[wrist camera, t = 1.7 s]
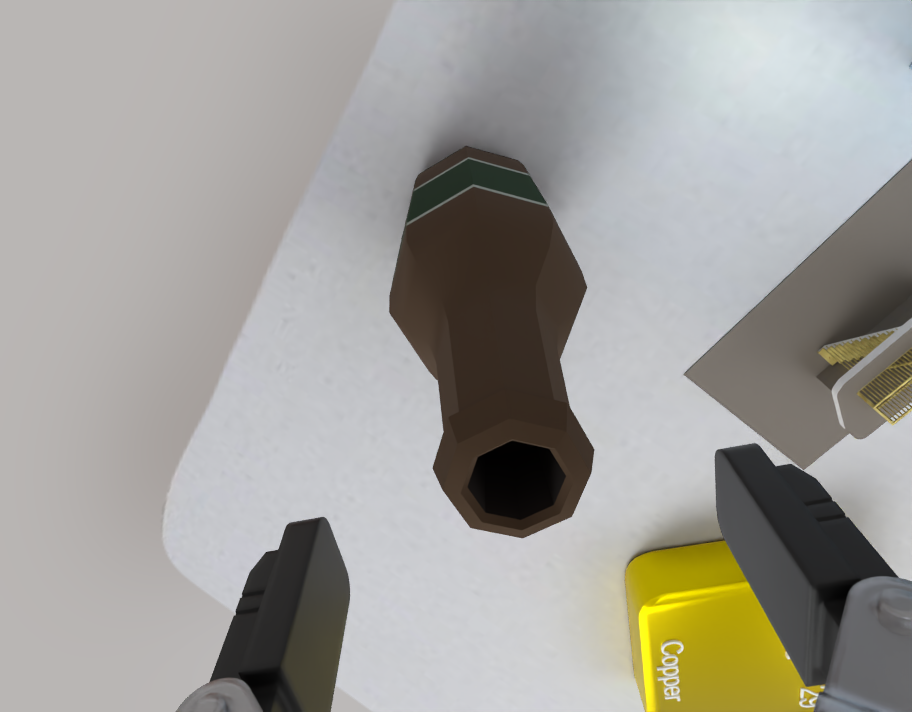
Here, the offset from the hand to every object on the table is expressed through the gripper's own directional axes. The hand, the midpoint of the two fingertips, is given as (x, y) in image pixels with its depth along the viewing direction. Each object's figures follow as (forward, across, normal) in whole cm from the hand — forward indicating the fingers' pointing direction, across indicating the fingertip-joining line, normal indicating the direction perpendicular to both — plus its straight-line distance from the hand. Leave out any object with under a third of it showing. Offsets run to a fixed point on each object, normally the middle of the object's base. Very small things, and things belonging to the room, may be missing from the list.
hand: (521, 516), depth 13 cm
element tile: (+25, -13, +34) cm, 45 cm away
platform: (+25, -22, +11) cm, 35 cm away
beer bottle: (+25, 0, 0) cm, 25 cm away
